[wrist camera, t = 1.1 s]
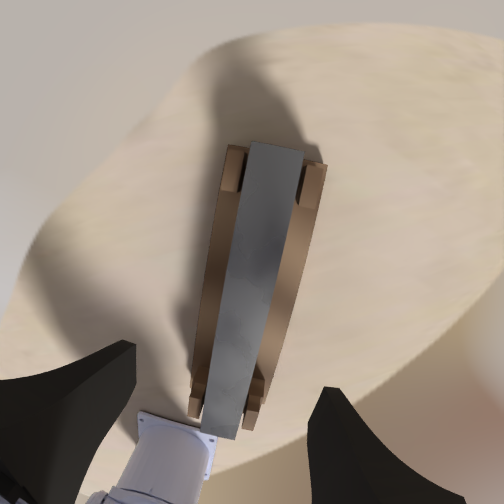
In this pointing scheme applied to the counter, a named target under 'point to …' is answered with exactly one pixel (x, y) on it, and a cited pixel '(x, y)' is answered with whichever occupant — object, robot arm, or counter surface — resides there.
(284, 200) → the graphite rail
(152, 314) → the counter surface
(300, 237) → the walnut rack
